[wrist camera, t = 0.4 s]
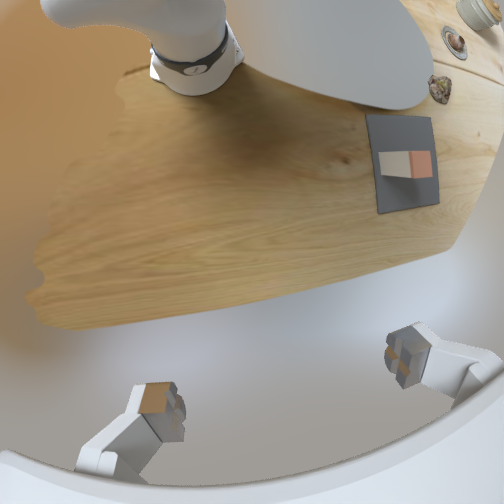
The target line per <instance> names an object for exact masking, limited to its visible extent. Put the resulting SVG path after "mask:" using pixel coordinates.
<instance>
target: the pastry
mask: <svg viewBox="0 0 504 504" xmlns="http://www.w3.org/2000/svg"><path fill="white" fill-rule="evenodd" d="M446 32H450V33H452V34H449V35H448V41H449V43H450V45H451V46H452V48H454V49H455V50H457V51H461V50H462V53H461V54H458V53H456V52H455V51H453V50H452V48H451V47H450V46H449V44H448V42H447V40H446V37H445V34H446ZM442 36H443V39H444V41H445V43H446V45H447V47H448V48H449V49H450V50H451V52H452V53H453V54H454V55H455V56H457V57H458V58H460V59H466V57H467V49H466V46H465V42H464V39H463V38H462V37H461V36H460V35H459V34H458V33H457V32H456V31H455V30H454V29H452V28H451V27H449V26H443V27H442Z"/></svg>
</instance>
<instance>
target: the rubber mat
mask: <svg viewBox="0 0 504 504" xmlns="http://www.w3.org/2000/svg"><path fill="white" fill-rule="evenodd" d="M365 118H366V123H367V129H368V134H369V140H370V147H371V154H372V161H373V169H374V177H375V187H376V197H377V210H378V213H379V214H380V213H386V212H391V211H397V210H403V209H408V208H414V207H420V206H426V205H432V204H438V203H439V181H438V169H437V158H436V150H435V142H434V135H433V129H432V123H431V117H419V116H403V115H365ZM394 151H430V155H431V164H432V175H433V177H424V178H406V177H397V176H387V175H381V169H380V161H379V153H378V152H394Z"/></svg>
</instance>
